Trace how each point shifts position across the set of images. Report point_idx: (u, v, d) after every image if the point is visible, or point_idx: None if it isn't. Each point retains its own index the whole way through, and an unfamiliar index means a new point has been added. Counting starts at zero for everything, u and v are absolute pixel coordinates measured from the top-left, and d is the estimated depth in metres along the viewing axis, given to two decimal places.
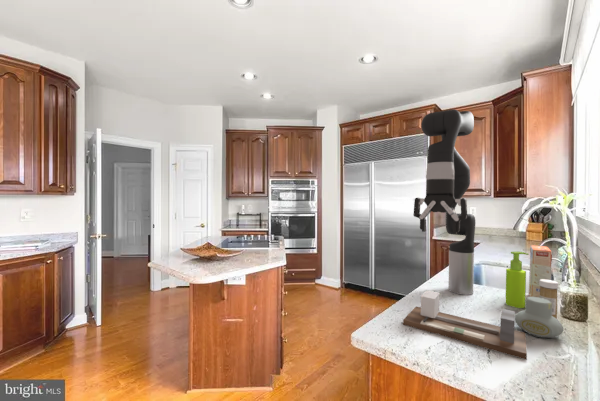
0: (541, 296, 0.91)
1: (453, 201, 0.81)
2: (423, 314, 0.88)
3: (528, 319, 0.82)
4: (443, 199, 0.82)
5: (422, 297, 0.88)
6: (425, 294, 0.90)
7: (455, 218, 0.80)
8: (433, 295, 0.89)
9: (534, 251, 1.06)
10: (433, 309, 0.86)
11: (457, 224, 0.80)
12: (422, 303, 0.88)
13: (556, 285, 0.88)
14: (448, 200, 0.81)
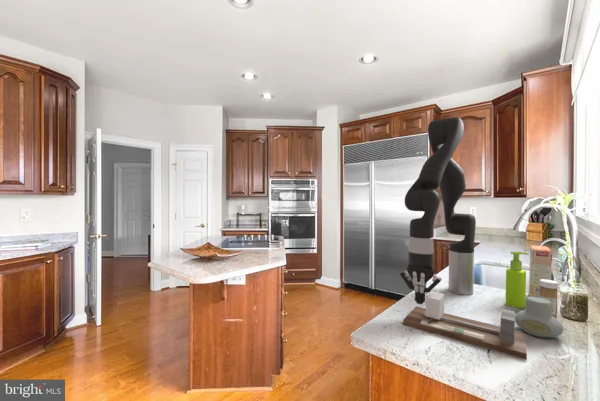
0: (541, 296, 0.91)
1: (431, 275, 0.89)
2: (428, 315, 0.87)
3: (528, 319, 0.82)
4: (423, 271, 0.90)
5: (427, 298, 0.87)
6: (430, 295, 0.89)
7: (421, 290, 0.91)
8: (437, 296, 0.88)
9: (534, 251, 1.06)
10: (438, 310, 0.85)
11: (422, 296, 0.91)
12: (427, 304, 0.87)
13: (556, 285, 0.88)
14: (428, 271, 0.89)
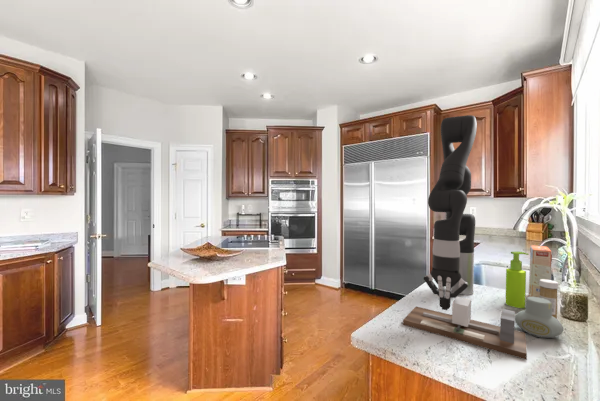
0: (541, 296, 0.91)
1: (457, 279, 0.85)
2: (455, 322, 0.83)
3: (528, 319, 0.82)
4: (449, 275, 0.86)
5: (454, 304, 0.83)
6: (456, 301, 0.85)
7: (447, 295, 0.86)
8: (465, 302, 0.83)
9: (534, 251, 1.06)
10: (466, 317, 0.81)
11: (448, 301, 0.86)
12: (454, 310, 0.83)
13: (556, 285, 0.88)
14: (454, 276, 0.85)
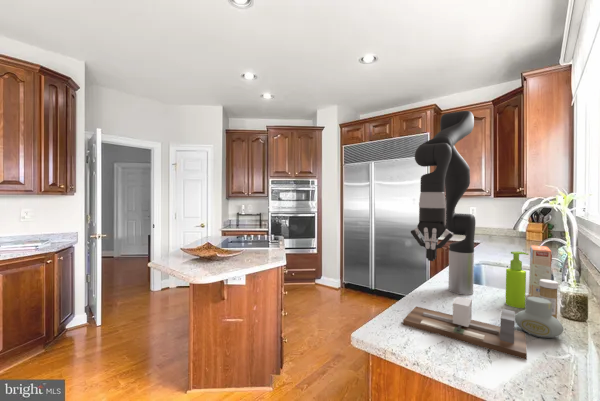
0: (541, 296, 0.91)
1: (443, 230, 0.87)
2: (455, 322, 0.83)
3: (528, 319, 0.82)
4: (435, 226, 0.88)
5: (454, 304, 0.83)
6: (457, 301, 0.85)
7: (433, 246, 0.88)
8: (465, 302, 0.83)
9: (534, 251, 1.06)
10: (467, 317, 0.81)
11: (434, 252, 0.89)
12: (454, 310, 0.83)
13: (556, 285, 0.88)
14: (440, 226, 0.87)
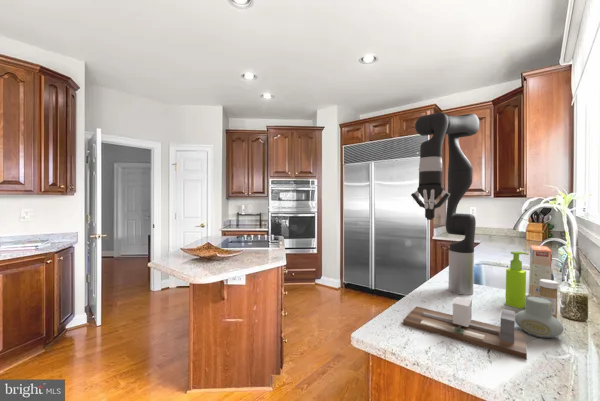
0: (541, 296, 0.91)
1: (440, 191, 0.97)
2: (455, 322, 0.83)
3: (528, 319, 0.82)
4: (433, 188, 0.98)
5: (454, 304, 0.83)
6: (457, 301, 0.85)
7: (431, 206, 0.98)
8: (465, 302, 0.83)
9: (534, 251, 1.06)
10: (467, 317, 0.81)
11: (432, 211, 0.98)
12: (454, 310, 0.83)
13: (556, 285, 0.88)
14: (437, 188, 0.97)
